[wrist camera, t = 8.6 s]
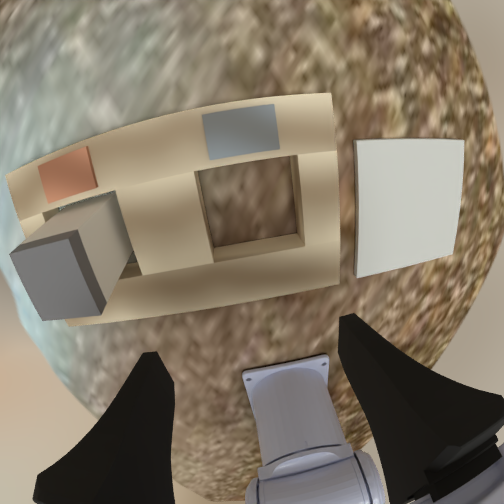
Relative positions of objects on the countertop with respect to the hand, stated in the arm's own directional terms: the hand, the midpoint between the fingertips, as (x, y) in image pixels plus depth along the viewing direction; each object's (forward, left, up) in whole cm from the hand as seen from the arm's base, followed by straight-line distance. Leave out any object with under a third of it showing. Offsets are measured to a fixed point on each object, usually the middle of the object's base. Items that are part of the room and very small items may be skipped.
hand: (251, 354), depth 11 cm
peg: (+3, +9, -9) cm, 13 cm away
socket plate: (+3, +4, -9) cm, 10 cm away
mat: (+1, -13, -9) cm, 16 cm away
